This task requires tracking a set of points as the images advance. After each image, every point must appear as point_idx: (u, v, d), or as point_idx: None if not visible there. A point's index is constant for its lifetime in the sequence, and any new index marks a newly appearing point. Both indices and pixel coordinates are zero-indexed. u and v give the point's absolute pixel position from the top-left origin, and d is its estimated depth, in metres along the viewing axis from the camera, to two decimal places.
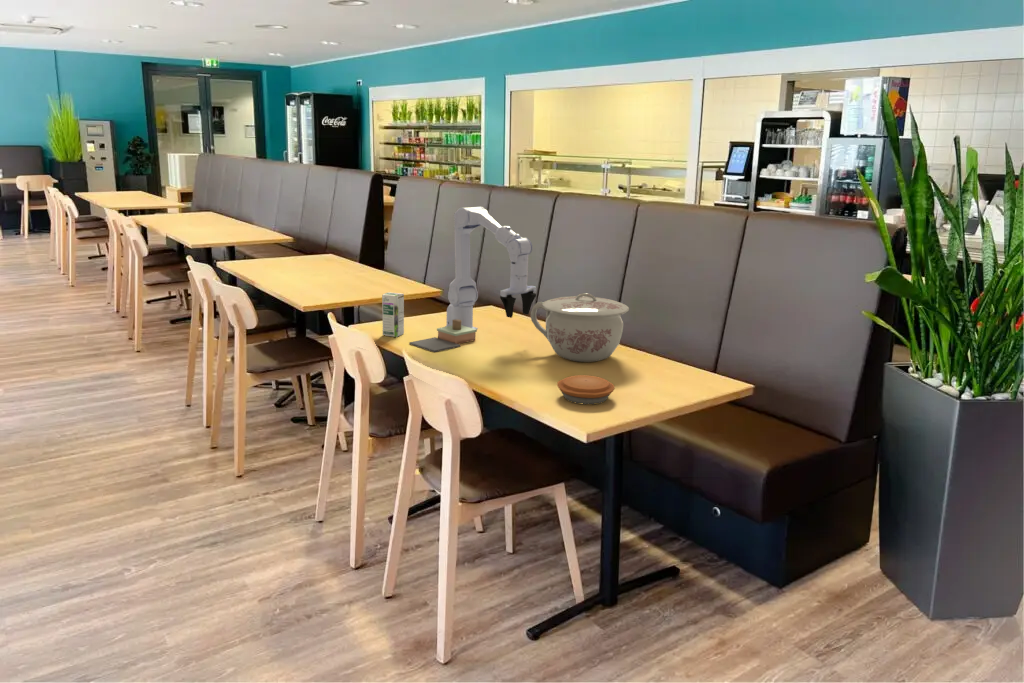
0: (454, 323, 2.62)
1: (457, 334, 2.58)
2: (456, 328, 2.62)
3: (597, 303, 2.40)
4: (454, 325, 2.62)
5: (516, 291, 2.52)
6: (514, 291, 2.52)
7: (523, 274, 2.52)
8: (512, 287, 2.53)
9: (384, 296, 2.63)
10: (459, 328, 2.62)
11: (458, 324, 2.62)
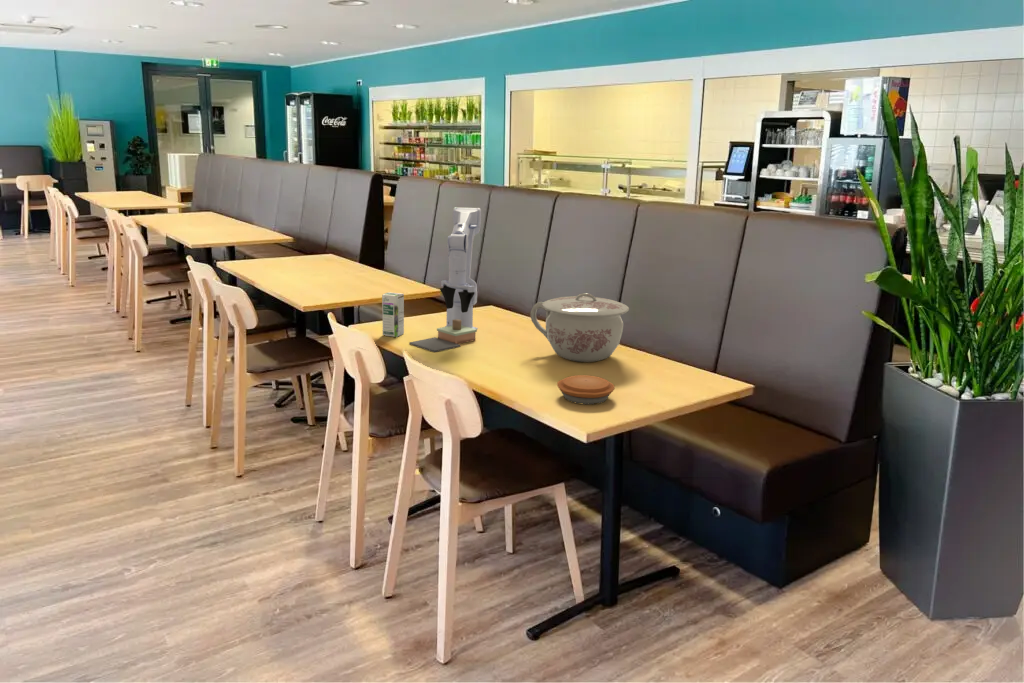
0: (454, 323, 2.62)
1: (457, 334, 2.58)
2: (456, 328, 2.62)
3: (597, 303, 2.40)
4: (454, 325, 2.62)
5: (446, 283, 2.60)
6: (445, 283, 2.61)
7: (454, 269, 2.56)
8: None
9: (384, 296, 2.63)
10: (459, 328, 2.62)
11: (458, 324, 2.62)
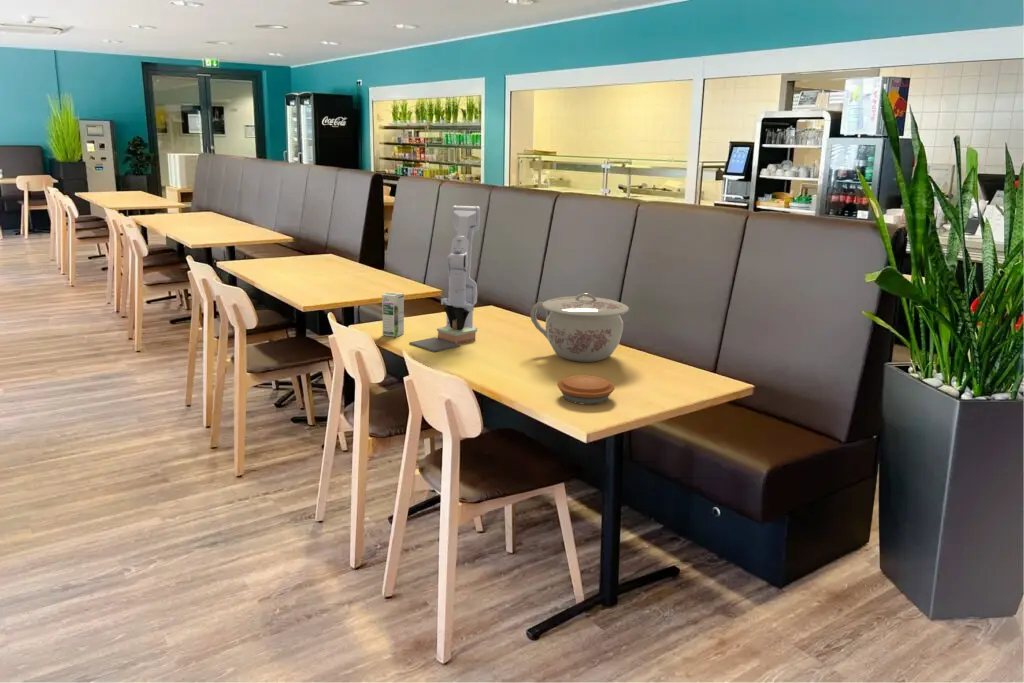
0: (454, 323, 2.62)
1: (457, 334, 2.58)
2: (456, 328, 2.62)
3: (597, 303, 2.40)
4: (454, 325, 2.62)
5: (446, 302, 2.62)
6: (445, 301, 2.62)
7: (454, 288, 2.57)
8: None
9: (384, 296, 2.63)
10: None
11: None
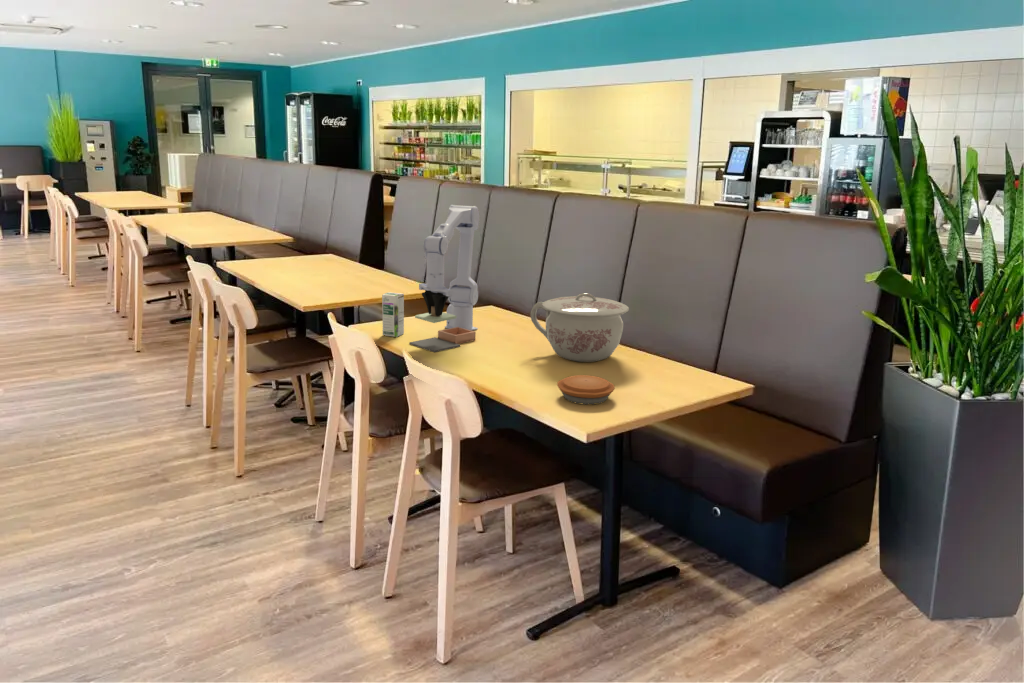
0: (433, 309, 2.52)
1: (436, 321, 2.48)
2: (435, 315, 2.53)
3: (597, 303, 2.40)
4: (433, 312, 2.53)
5: (424, 287, 2.52)
6: (423, 286, 2.53)
7: (429, 272, 2.48)
8: None
9: (384, 296, 2.63)
10: None
11: None
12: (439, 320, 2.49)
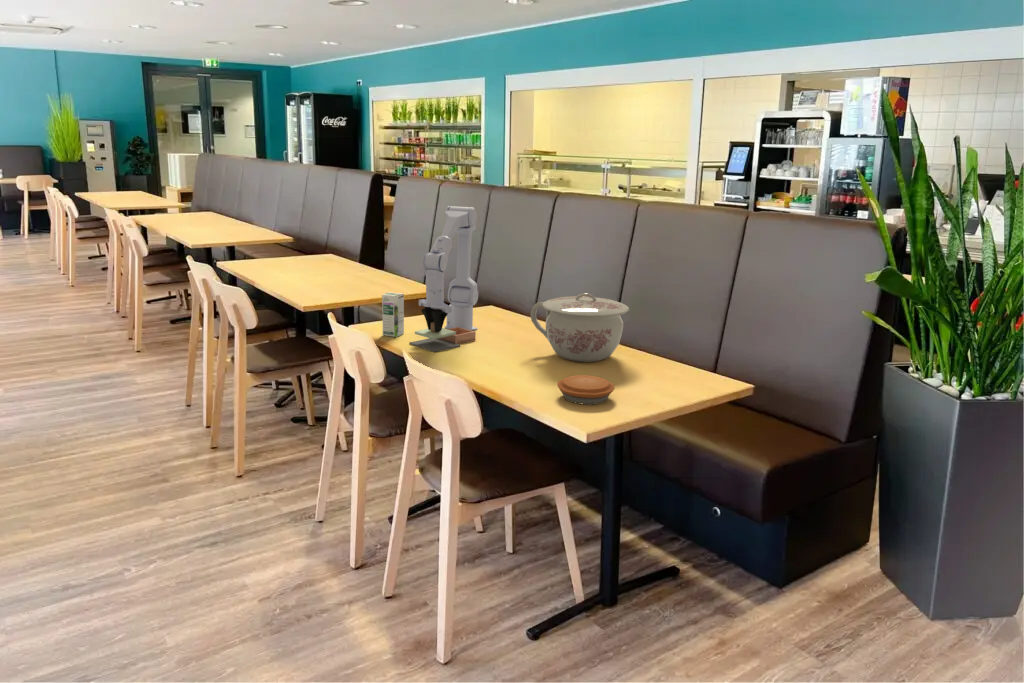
0: (432, 326, 2.54)
1: (435, 337, 2.50)
2: (434, 331, 2.54)
3: (597, 303, 2.40)
4: (432, 328, 2.54)
5: (424, 303, 2.54)
6: (423, 303, 2.54)
7: (429, 289, 2.49)
8: None
9: (384, 296, 2.63)
10: None
11: None
12: (438, 336, 2.51)
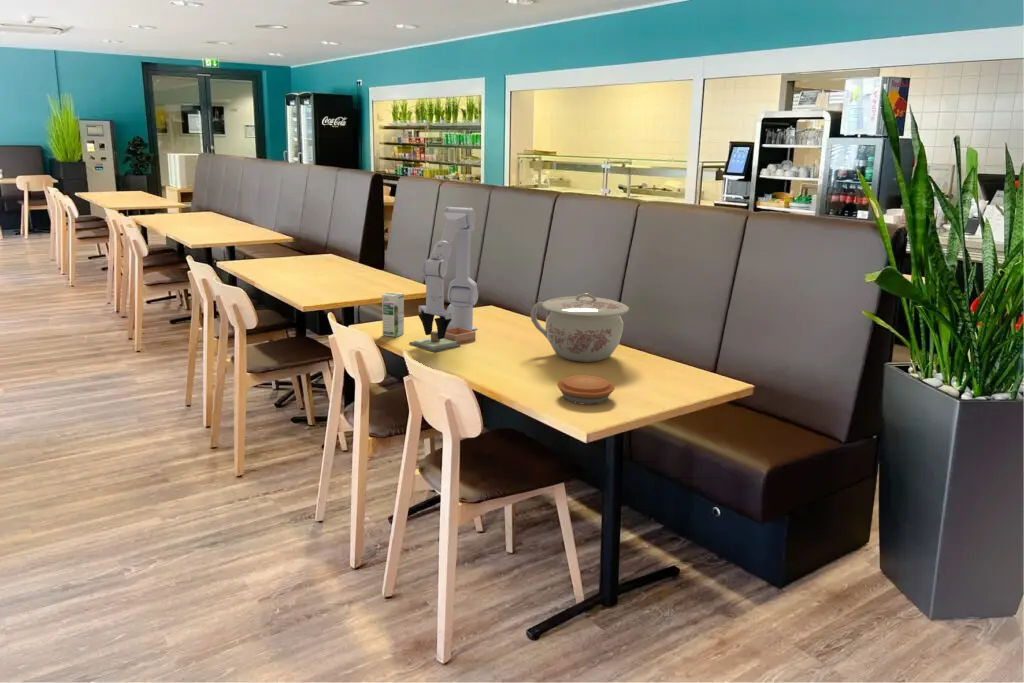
0: (432, 335, 2.55)
1: (435, 347, 2.51)
2: (434, 340, 2.55)
3: (597, 303, 2.40)
4: (432, 337, 2.55)
5: (424, 309, 2.54)
6: (423, 309, 2.55)
7: (429, 295, 2.50)
8: None
9: (384, 296, 2.63)
10: (437, 340, 2.55)
11: (436, 337, 2.55)
12: (438, 346, 2.52)
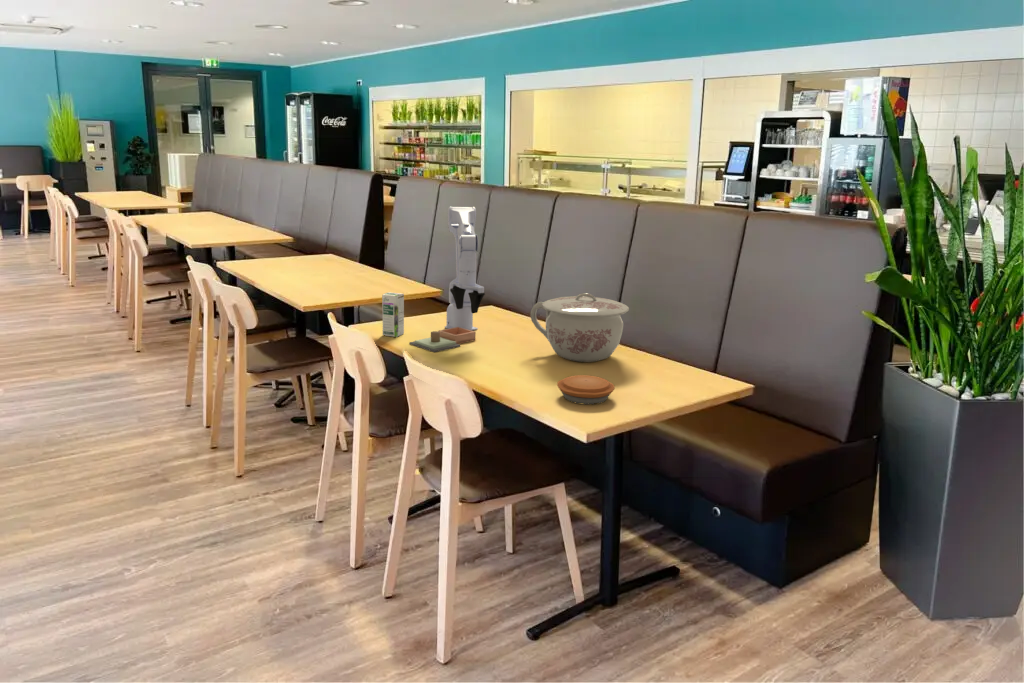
0: (432, 335, 2.55)
1: (435, 347, 2.51)
2: (434, 340, 2.55)
3: (597, 303, 2.40)
4: (432, 337, 2.55)
5: (456, 284, 2.60)
6: (455, 283, 2.60)
7: (466, 270, 2.55)
8: None
9: (384, 296, 2.63)
10: (437, 340, 2.55)
11: (436, 337, 2.55)
12: (438, 346, 2.52)
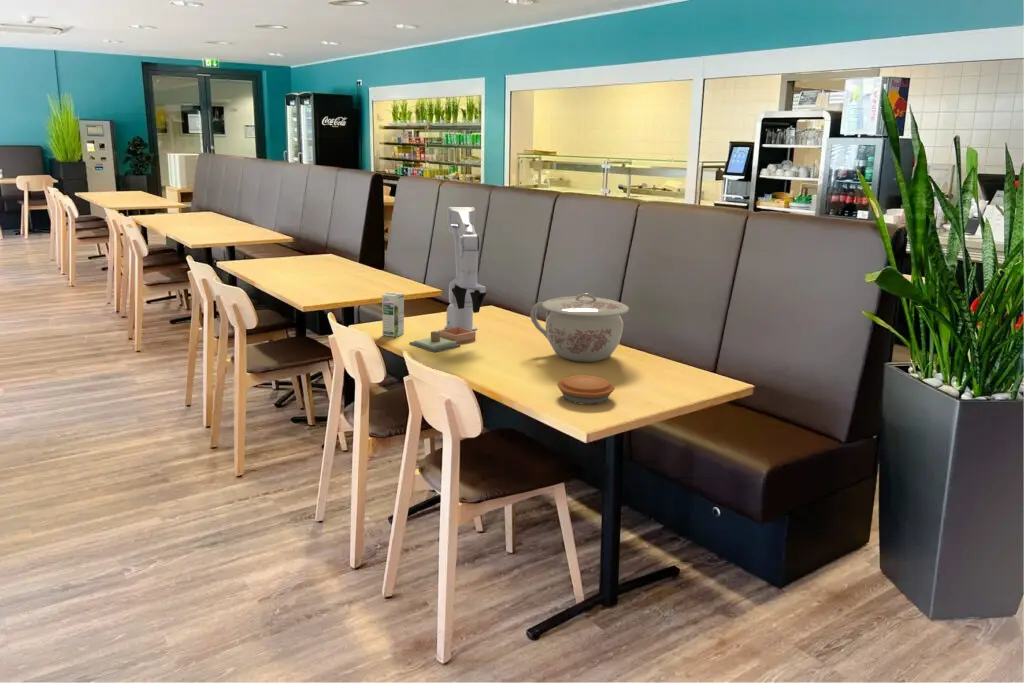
0: (432, 335, 2.55)
1: (435, 347, 2.51)
2: (434, 340, 2.55)
3: (597, 303, 2.40)
4: (432, 337, 2.55)
5: (458, 284, 2.60)
6: (457, 283, 2.60)
7: (468, 269, 2.55)
8: None
9: (384, 296, 2.63)
10: (437, 340, 2.55)
11: (436, 337, 2.55)
12: (438, 346, 2.52)
